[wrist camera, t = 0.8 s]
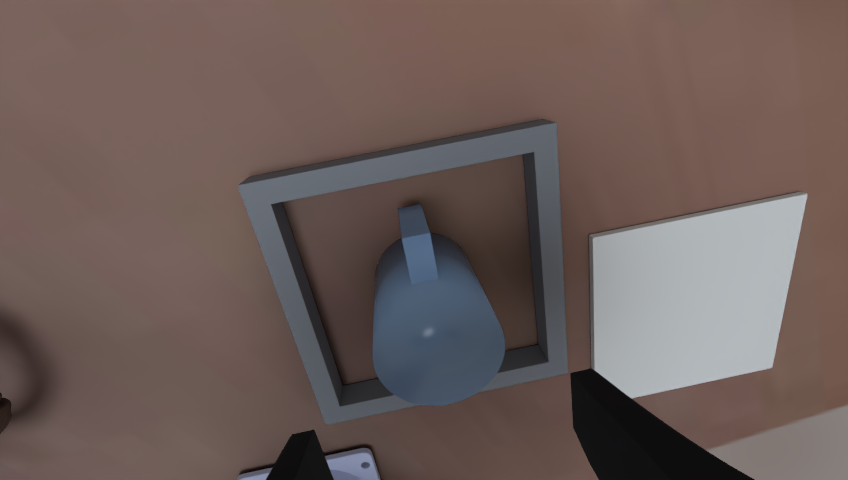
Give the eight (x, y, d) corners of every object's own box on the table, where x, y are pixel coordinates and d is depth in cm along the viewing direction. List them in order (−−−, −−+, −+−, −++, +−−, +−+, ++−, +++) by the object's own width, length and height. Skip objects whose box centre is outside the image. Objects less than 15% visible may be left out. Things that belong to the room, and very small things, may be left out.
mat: (766, 363, 24) (772, 367, 24) (591, 401, 24) (595, 406, 24) (799, 191, 20) (807, 193, 20) (588, 234, 20) (592, 237, 19)
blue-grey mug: (476, 308, 21) (511, 390, 15) (386, 327, 21) (388, 417, 15) (458, 187, 18) (492, 234, 13) (355, 208, 18) (344, 263, 13)
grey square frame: (556, 355, 22) (568, 373, 21) (329, 403, 22) (325, 425, 21) (542, 119, 17) (556, 122, 16) (249, 176, 17) (237, 185, 16)
